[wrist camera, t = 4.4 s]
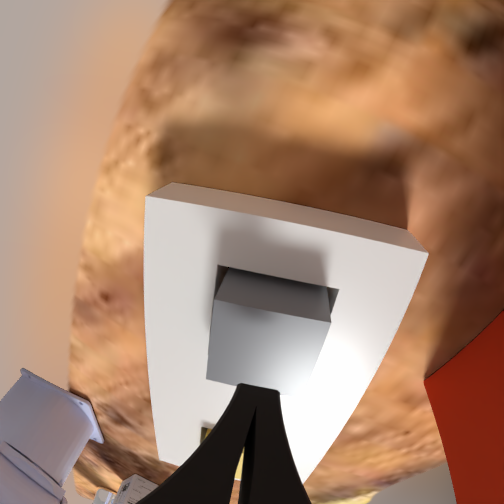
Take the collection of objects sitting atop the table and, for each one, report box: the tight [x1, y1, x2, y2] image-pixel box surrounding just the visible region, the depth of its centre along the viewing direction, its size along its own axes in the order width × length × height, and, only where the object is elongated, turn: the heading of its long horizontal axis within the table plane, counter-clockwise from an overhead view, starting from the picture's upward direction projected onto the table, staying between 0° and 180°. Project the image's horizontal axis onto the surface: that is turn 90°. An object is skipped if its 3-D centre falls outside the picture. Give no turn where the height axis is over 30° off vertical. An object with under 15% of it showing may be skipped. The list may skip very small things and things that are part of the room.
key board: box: [144, 182, 429, 484], centre depth 18 cm, size 12×22×3 cm, turn 171°
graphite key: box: [206, 267, 331, 398], centre depth 14 cm, size 4×4×3 cm
